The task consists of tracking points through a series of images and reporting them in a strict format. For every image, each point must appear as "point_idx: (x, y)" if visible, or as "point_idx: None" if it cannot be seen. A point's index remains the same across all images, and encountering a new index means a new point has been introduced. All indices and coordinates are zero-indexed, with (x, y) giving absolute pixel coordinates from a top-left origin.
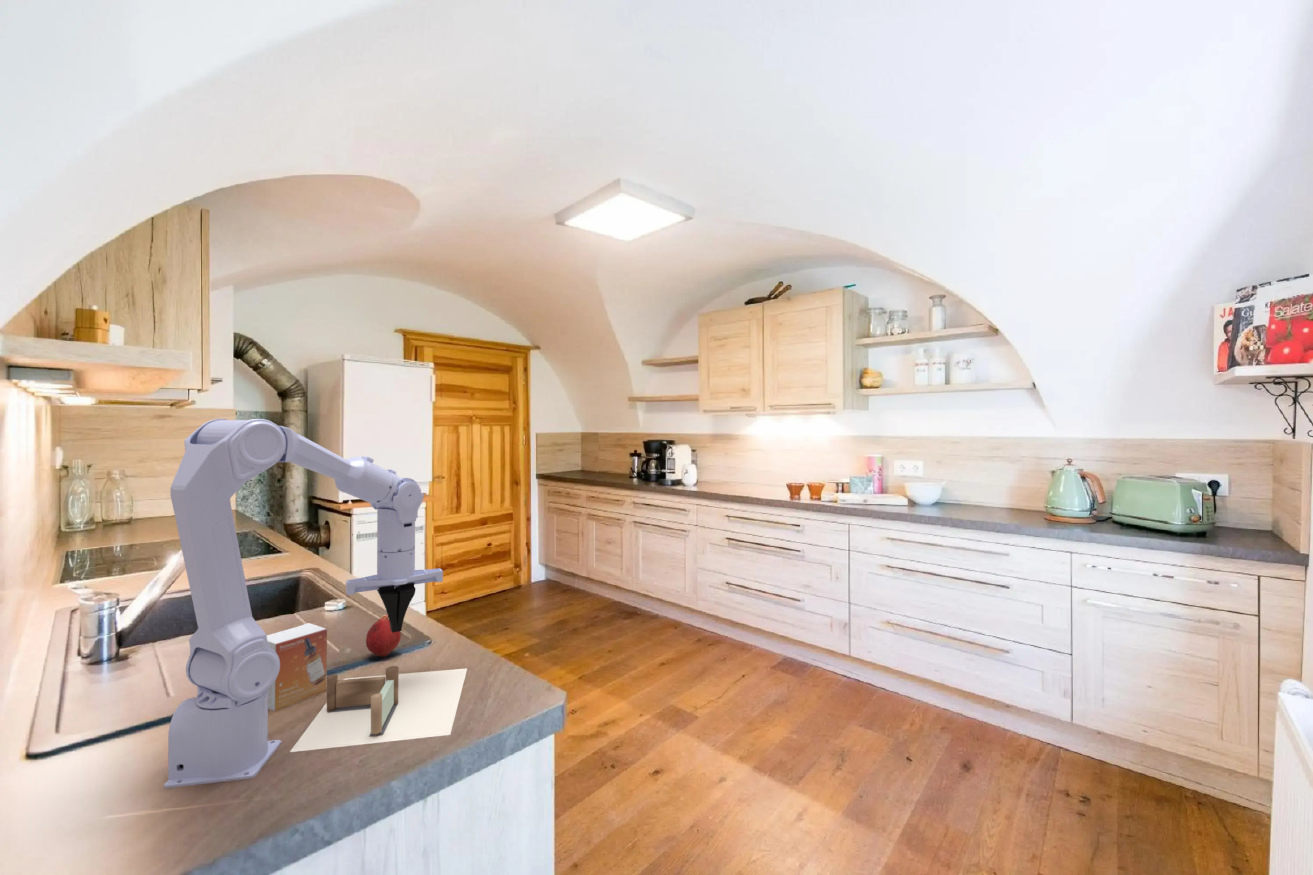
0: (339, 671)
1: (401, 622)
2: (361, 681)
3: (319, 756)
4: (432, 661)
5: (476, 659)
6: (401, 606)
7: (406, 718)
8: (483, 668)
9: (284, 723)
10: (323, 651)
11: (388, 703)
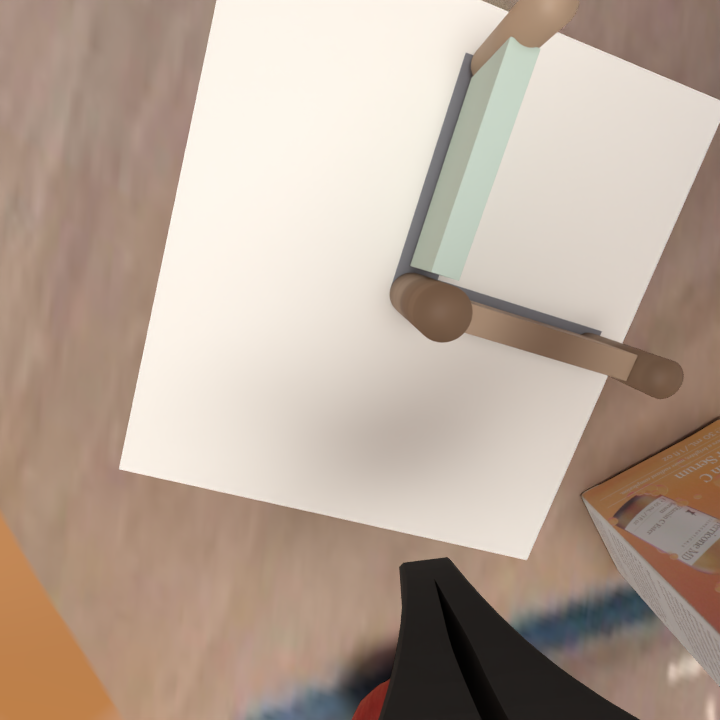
0: (529, 626)
1: (413, 592)
2: (549, 329)
3: (651, 37)
4: (242, 589)
5: (78, 544)
6: (449, 687)
7: (376, 145)
8: (57, 454)
9: (705, 332)
10: (695, 586)
11: (447, 180)
